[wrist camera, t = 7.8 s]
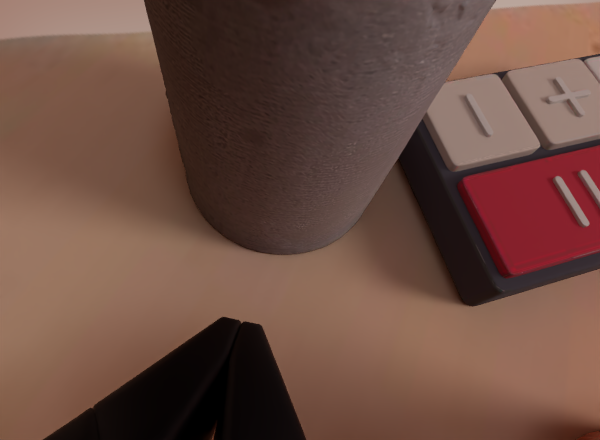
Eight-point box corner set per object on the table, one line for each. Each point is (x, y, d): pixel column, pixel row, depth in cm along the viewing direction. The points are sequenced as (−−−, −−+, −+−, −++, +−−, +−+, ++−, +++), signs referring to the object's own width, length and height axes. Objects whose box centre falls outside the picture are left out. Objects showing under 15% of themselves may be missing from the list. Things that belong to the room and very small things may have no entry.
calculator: (402, 77, 19) (646, 35, 22) (379, 131, 23) (588, 89, 26) (508, 291, 15) (792, 206, 18) (459, 312, 19) (697, 240, 22)
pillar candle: (148, 157, 20) (-61, -368, 6) (290, 72, 23) (349, -377, 10) (275, 299, 18) (373, -39, 4) (410, 181, 21) (700, -207, 8)
